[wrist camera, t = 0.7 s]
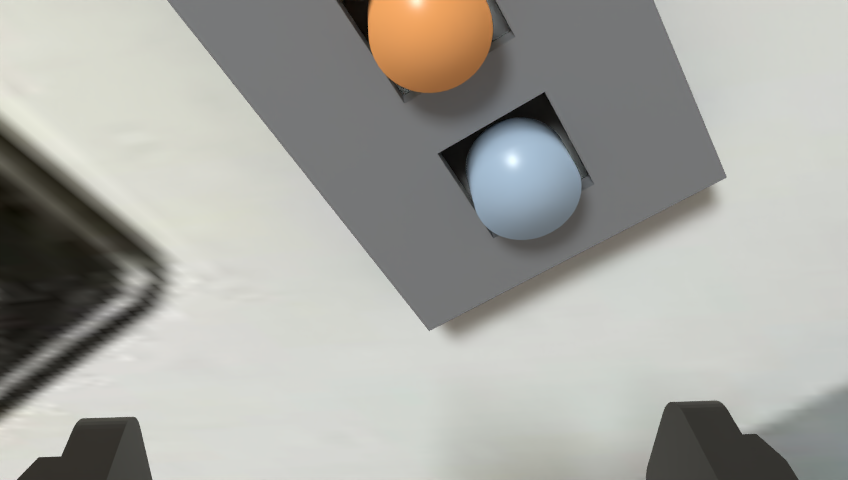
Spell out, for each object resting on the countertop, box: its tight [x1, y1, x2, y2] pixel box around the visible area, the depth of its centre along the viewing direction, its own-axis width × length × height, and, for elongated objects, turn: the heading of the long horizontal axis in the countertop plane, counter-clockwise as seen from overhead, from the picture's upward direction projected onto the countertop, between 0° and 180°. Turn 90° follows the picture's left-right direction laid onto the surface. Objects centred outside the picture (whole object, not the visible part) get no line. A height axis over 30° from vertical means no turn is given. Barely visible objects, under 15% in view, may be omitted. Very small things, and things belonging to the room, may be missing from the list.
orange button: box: [368, 0, 493, 93], centre depth 24 cm, size 4×4×2 cm
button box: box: [167, 0, 726, 331], centre depth 26 cm, size 14×24×3 cm, turn 31°
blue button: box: [466, 118, 582, 240], centre depth 28 cm, size 4×4×2 cm
